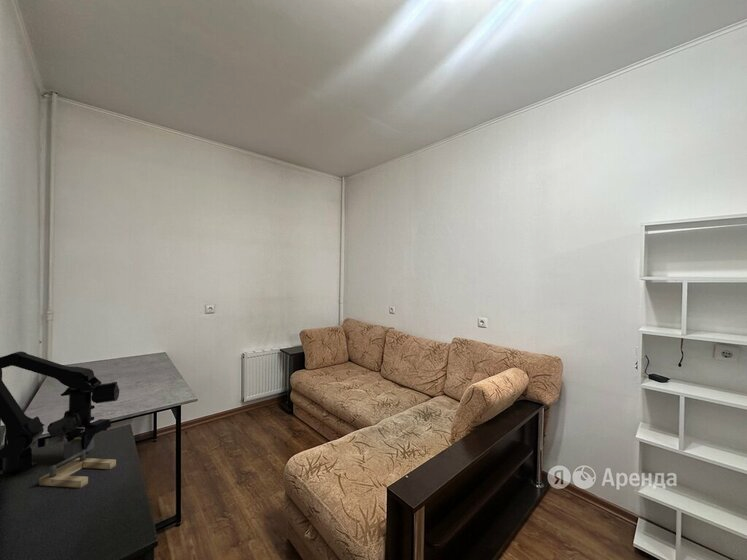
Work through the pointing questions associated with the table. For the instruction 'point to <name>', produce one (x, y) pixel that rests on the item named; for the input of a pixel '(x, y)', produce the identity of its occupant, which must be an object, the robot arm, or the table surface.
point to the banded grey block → (75, 447)
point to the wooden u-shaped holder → (74, 470)
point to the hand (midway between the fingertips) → (79, 449)
